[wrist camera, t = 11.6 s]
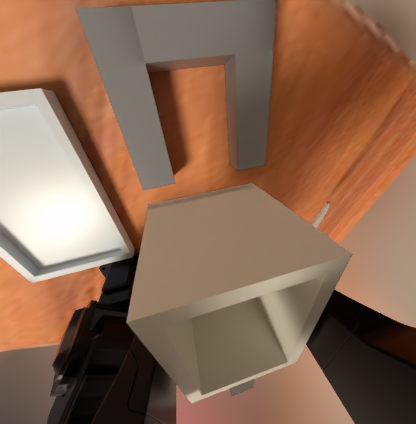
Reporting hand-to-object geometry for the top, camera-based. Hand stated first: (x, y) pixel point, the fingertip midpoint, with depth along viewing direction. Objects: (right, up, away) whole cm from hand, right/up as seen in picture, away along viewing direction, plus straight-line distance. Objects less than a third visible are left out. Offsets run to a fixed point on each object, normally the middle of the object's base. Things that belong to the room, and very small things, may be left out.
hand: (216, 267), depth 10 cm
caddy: (0, -1, +2) cm, 2 cm away
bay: (-2, +13, +5) cm, 14 cm away
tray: (-17, +4, +6) cm, 18 cm away
